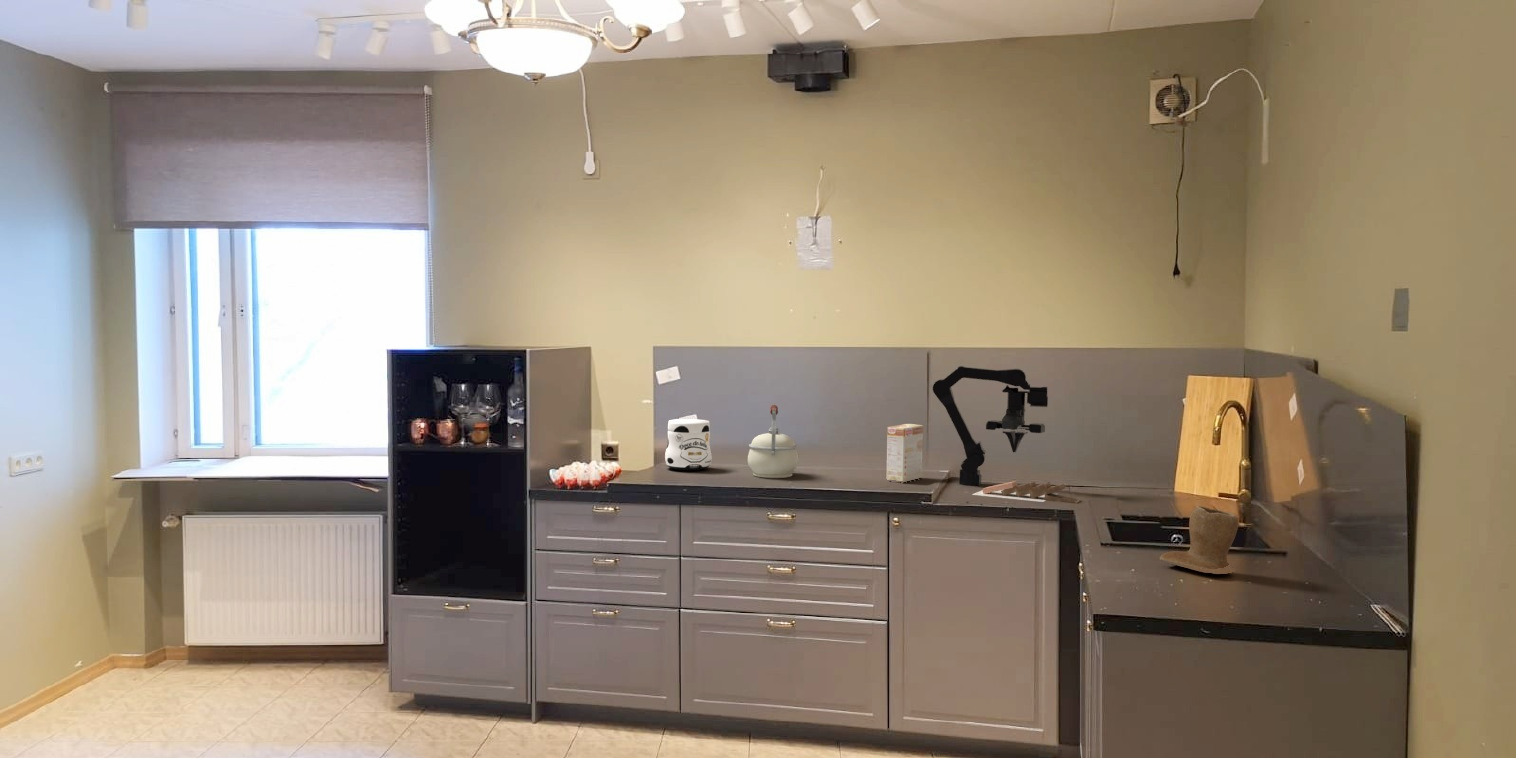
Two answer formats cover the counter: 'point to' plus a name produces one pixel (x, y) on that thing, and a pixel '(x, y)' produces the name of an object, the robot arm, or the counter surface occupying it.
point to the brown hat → (1207, 539)
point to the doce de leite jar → (688, 444)
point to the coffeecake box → (904, 452)
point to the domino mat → (1011, 496)
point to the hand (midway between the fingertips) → (1014, 452)
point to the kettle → (773, 453)
